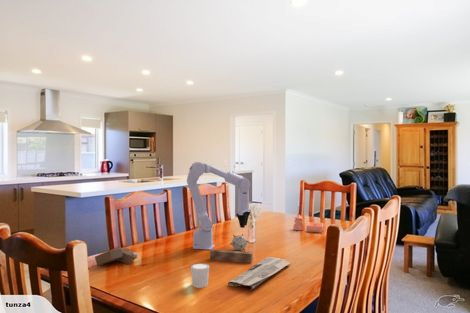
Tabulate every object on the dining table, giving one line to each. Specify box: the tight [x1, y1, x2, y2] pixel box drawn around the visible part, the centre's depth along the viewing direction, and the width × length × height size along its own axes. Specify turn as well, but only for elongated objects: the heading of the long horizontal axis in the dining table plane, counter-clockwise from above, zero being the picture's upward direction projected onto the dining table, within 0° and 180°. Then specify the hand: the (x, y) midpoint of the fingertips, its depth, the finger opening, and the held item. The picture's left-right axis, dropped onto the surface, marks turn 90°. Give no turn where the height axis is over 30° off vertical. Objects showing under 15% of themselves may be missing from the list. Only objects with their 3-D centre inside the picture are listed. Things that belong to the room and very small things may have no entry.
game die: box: [229, 233, 249, 252], centre depth 170 cm, size 9×8×10 cm
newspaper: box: [227, 256, 291, 291], centre depth 137 cm, size 35×12×4 cm, turn 150°
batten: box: [209, 249, 253, 264], centre depth 155 cm, size 19×2×4 cm, turn 76°
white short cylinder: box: [190, 263, 210, 289], centre depth 126 cm, size 7×7×7 cm
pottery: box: [292, 213, 324, 234], centre depth 214 cm, size 18×10×10 cm, turn 71°
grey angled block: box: [94, 247, 138, 266], centre depth 152 cm, size 8×13×18 cm
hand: (243, 226), depth 180 cm, fingers open, 5 cm apart
